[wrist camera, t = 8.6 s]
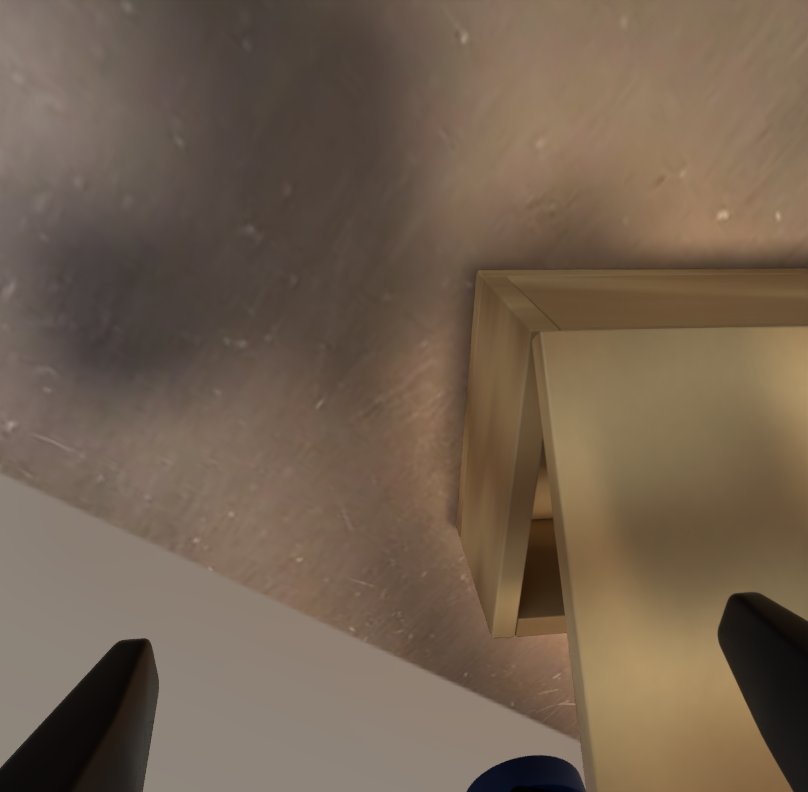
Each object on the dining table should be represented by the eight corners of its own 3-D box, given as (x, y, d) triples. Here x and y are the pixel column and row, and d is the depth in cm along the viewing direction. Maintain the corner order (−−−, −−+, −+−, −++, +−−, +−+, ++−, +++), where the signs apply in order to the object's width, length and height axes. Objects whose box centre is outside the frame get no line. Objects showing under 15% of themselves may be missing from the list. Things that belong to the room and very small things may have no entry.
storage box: (763, 509, 27) (870, 609, 22) (455, 527, 25) (491, 639, 20) (846, 267, 22) (1007, 320, 17) (476, 269, 20) (529, 328, 15)
